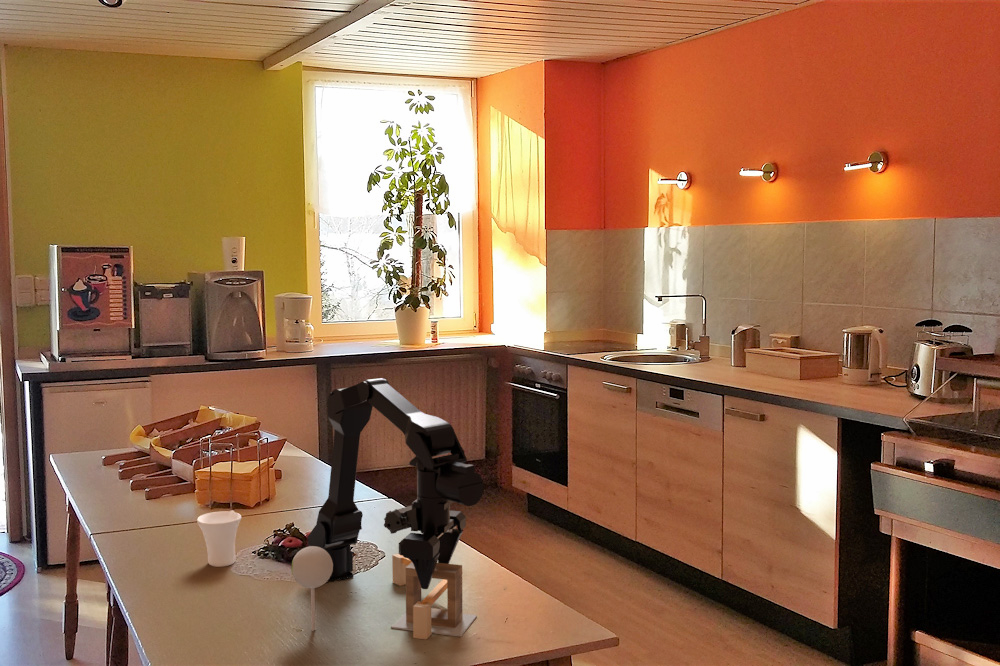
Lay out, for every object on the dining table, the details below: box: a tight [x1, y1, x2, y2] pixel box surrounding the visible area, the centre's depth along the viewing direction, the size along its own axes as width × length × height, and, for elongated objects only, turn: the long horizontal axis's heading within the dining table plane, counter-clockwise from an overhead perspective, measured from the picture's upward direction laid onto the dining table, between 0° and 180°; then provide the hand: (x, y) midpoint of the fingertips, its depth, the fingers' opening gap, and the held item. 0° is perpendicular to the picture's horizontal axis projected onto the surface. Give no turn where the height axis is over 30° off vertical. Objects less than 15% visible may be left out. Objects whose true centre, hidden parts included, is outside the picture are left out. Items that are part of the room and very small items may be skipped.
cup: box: [196, 509, 242, 568], centre depth 207 cm, size 9×9×10 cm
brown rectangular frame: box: [405, 562, 463, 628], centre depth 176 cm, size 4×9×10 cm, turn 74°
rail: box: [391, 552, 447, 640], centre depth 183 cm, size 13×28×6 cm, turn 29°
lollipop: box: [290, 545, 333, 632], centre depth 172 cm, size 7×7×15 cm
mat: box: [390, 611, 477, 638], centre depth 176 cm, size 9×13×1 cm
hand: (434, 579), depth 175 cm, fingers open, 9 cm apart
